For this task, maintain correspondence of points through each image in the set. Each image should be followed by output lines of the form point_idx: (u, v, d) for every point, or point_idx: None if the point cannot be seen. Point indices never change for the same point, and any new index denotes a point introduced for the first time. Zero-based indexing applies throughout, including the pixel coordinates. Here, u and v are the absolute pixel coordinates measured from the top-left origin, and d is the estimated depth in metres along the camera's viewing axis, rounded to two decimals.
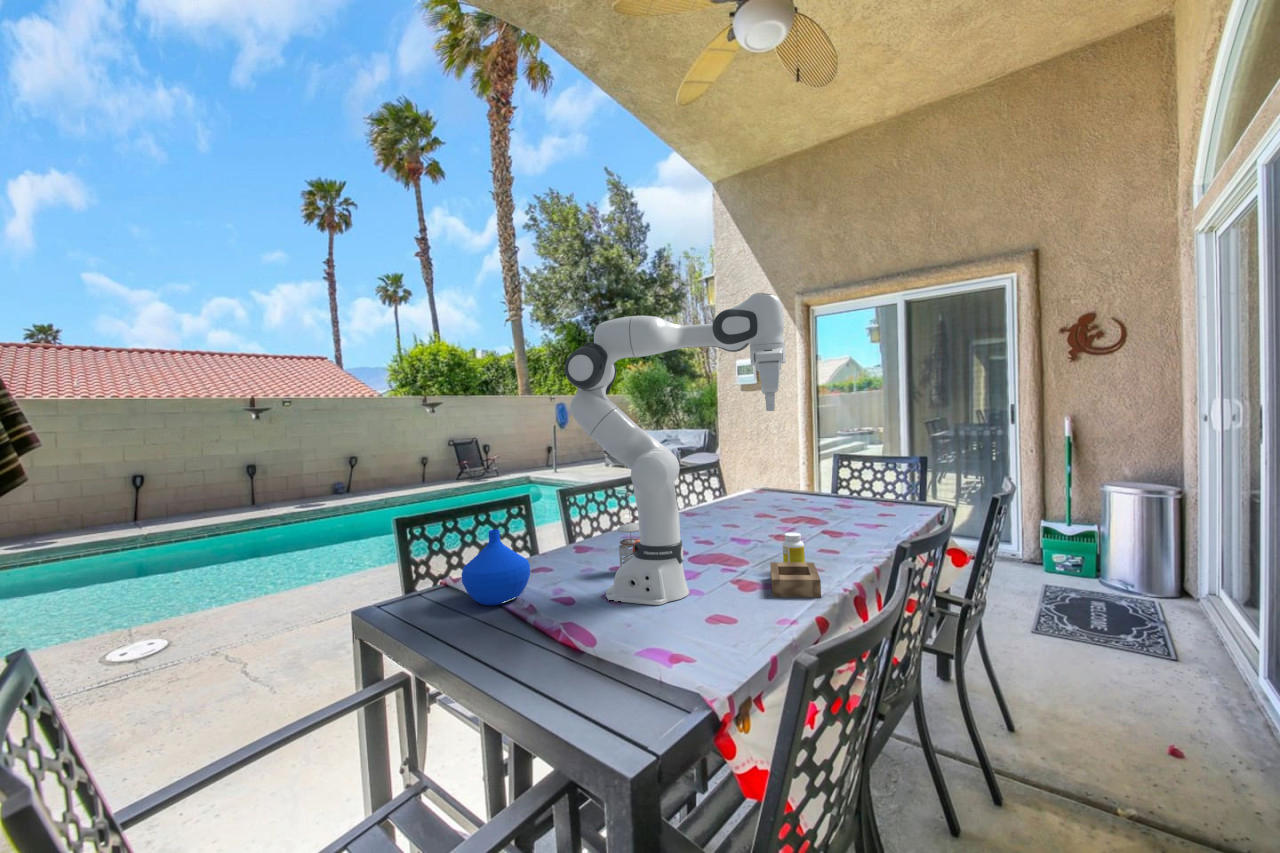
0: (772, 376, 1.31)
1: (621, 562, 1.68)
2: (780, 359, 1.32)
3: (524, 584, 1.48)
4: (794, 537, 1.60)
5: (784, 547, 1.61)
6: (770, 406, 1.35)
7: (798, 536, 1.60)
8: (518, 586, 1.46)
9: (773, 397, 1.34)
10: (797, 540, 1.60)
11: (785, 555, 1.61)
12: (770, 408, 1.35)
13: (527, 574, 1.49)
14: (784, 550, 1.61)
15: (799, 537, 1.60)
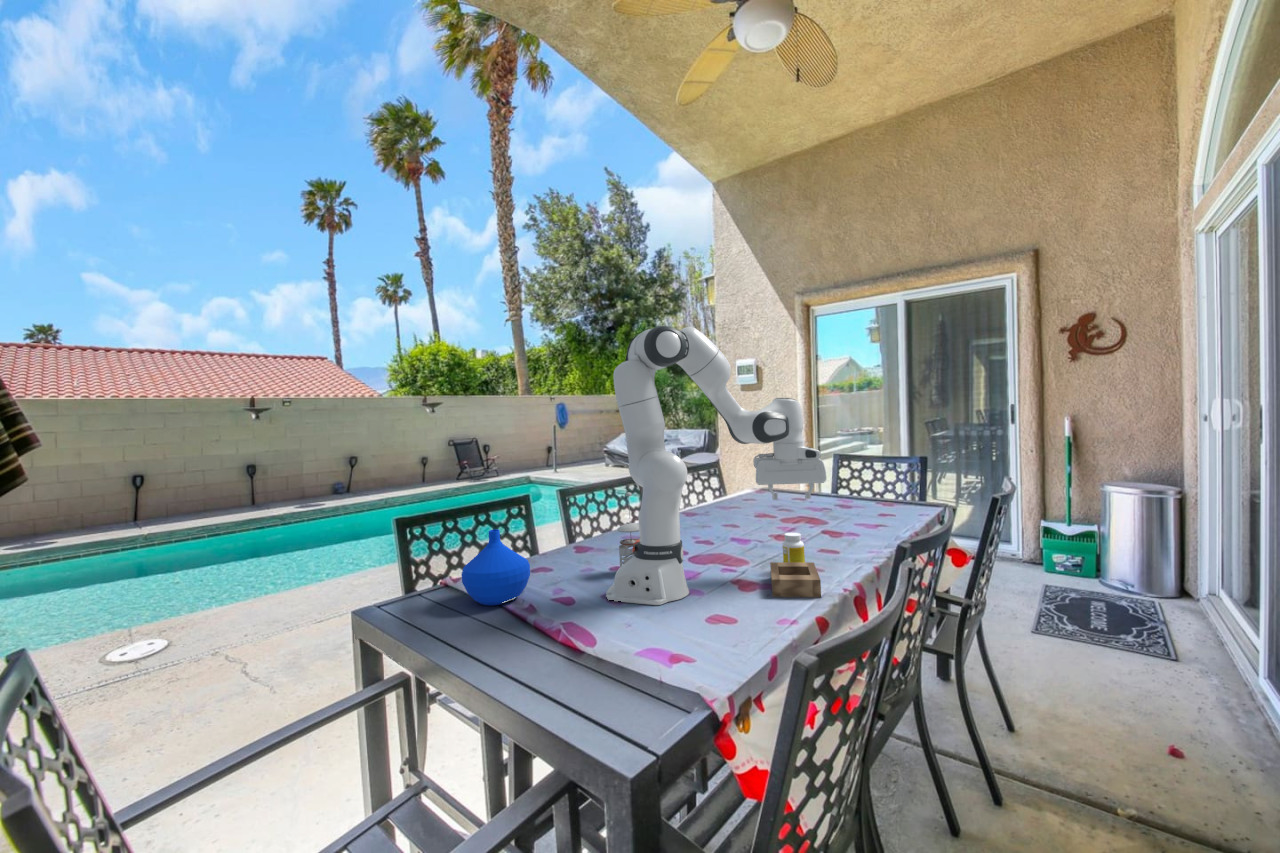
0: None
1: (621, 562, 1.68)
2: None
3: (524, 584, 1.48)
4: (794, 537, 1.60)
5: (784, 547, 1.61)
6: None
7: (798, 536, 1.60)
8: (518, 586, 1.46)
9: None
10: (797, 540, 1.60)
11: (785, 555, 1.61)
12: None
13: (527, 574, 1.49)
14: (784, 550, 1.61)
15: (799, 537, 1.60)
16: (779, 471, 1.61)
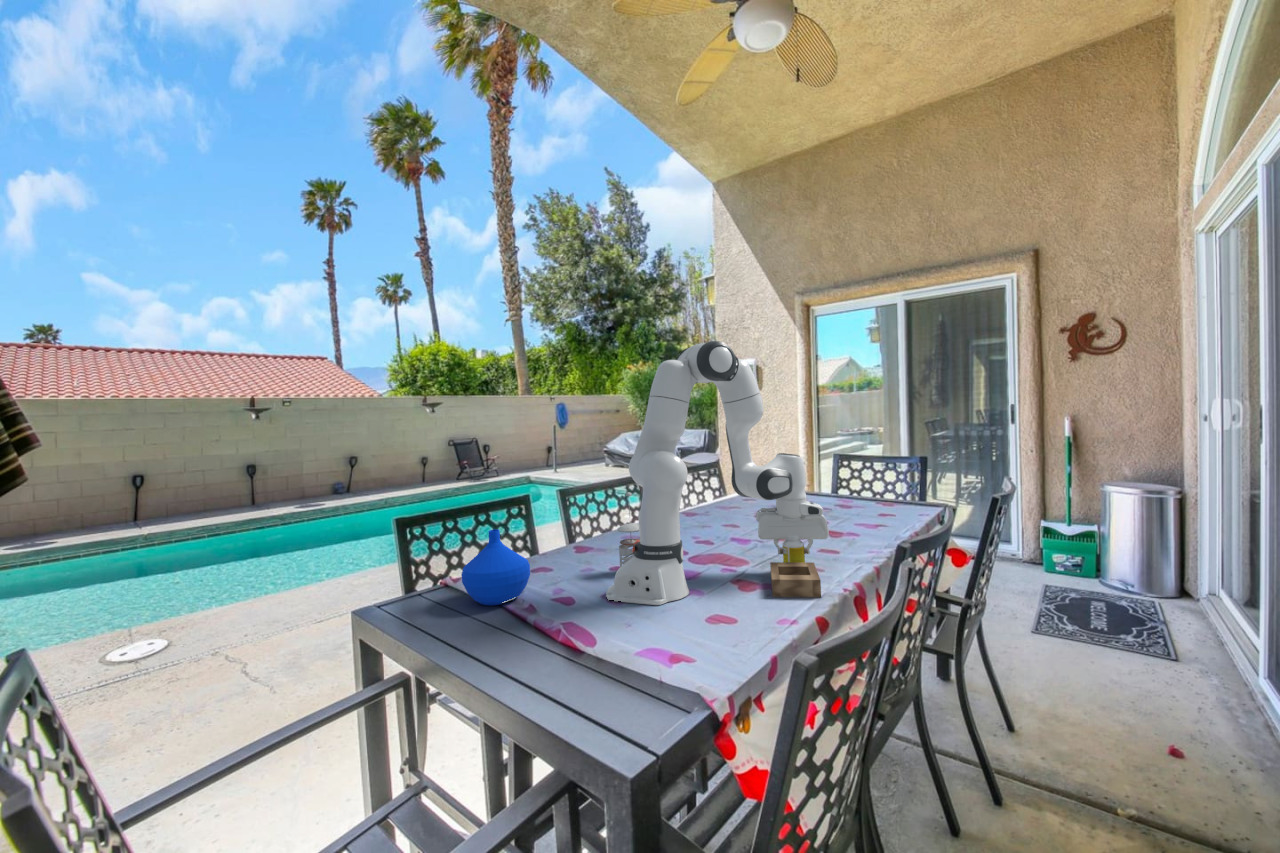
0: None
1: (621, 562, 1.68)
2: None
3: (524, 584, 1.48)
4: (794, 537, 1.60)
5: (784, 547, 1.61)
6: None
7: None
8: (518, 586, 1.46)
9: None
10: (797, 540, 1.60)
11: (785, 555, 1.61)
12: None
13: (527, 574, 1.49)
14: (784, 550, 1.61)
15: None
16: (781, 526, 1.61)
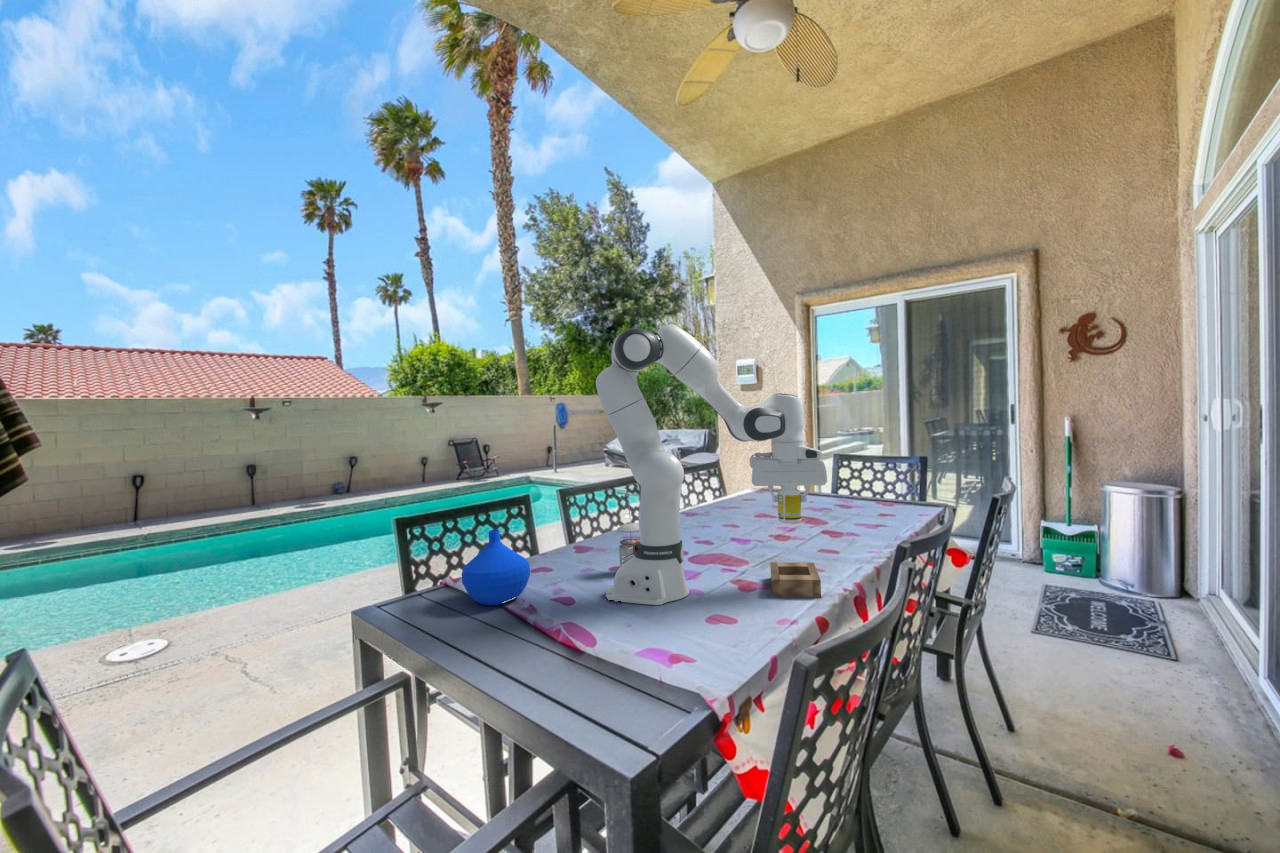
0: None
1: (621, 562, 1.68)
2: None
3: (524, 584, 1.48)
4: (790, 484, 1.49)
5: (779, 495, 1.50)
6: None
7: None
8: (518, 586, 1.46)
9: None
10: (793, 487, 1.49)
11: (780, 503, 1.50)
12: None
13: (527, 574, 1.49)
14: (779, 498, 1.51)
15: None
16: (777, 472, 1.50)
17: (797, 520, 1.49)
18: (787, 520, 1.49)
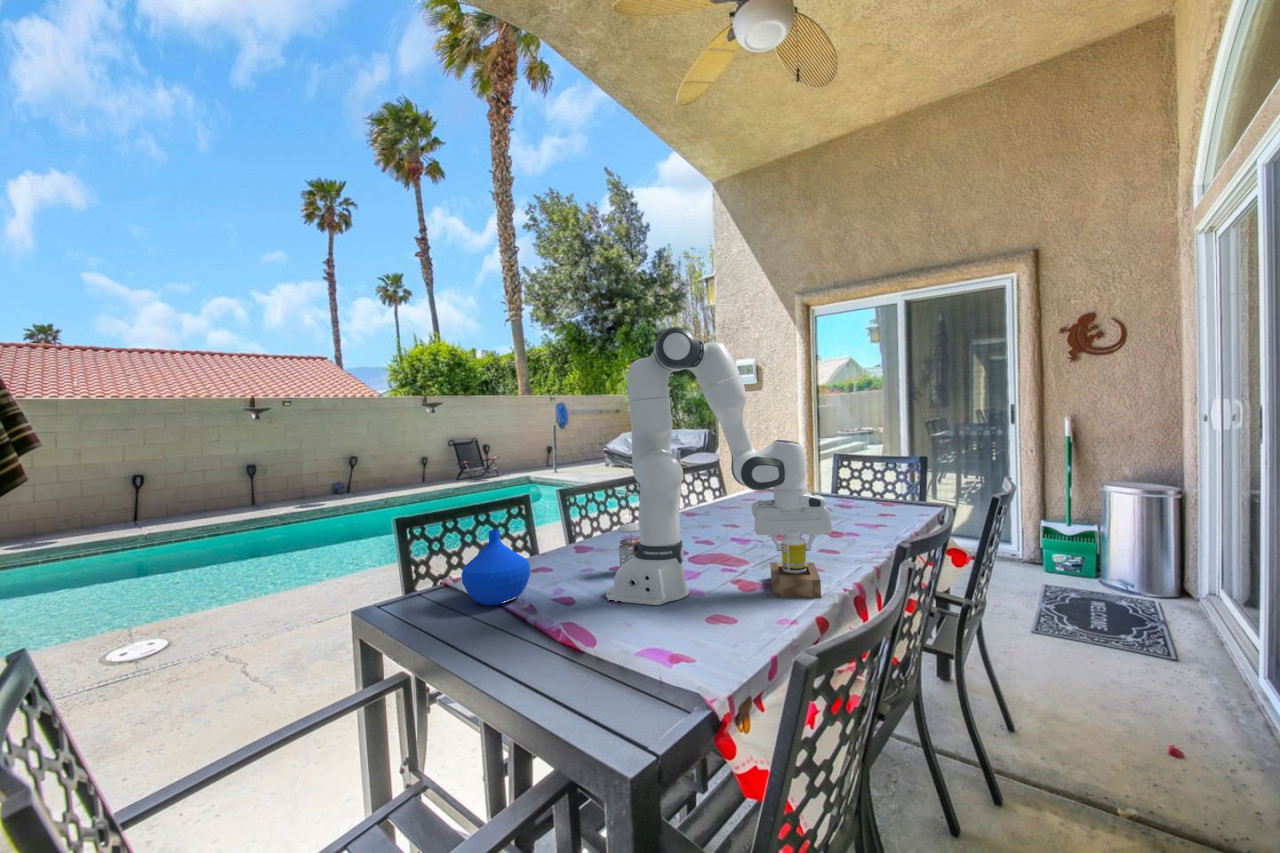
0: None
1: (621, 562, 1.68)
2: None
3: (524, 584, 1.48)
4: (794, 533, 1.45)
5: (783, 544, 1.47)
6: (810, 546, 1.46)
7: None
8: (518, 586, 1.46)
9: None
10: (797, 537, 1.45)
11: (784, 553, 1.46)
12: (810, 548, 1.46)
13: (527, 574, 1.49)
14: (783, 547, 1.47)
15: None
16: (780, 520, 1.46)
17: (802, 570, 1.45)
18: (791, 571, 1.45)
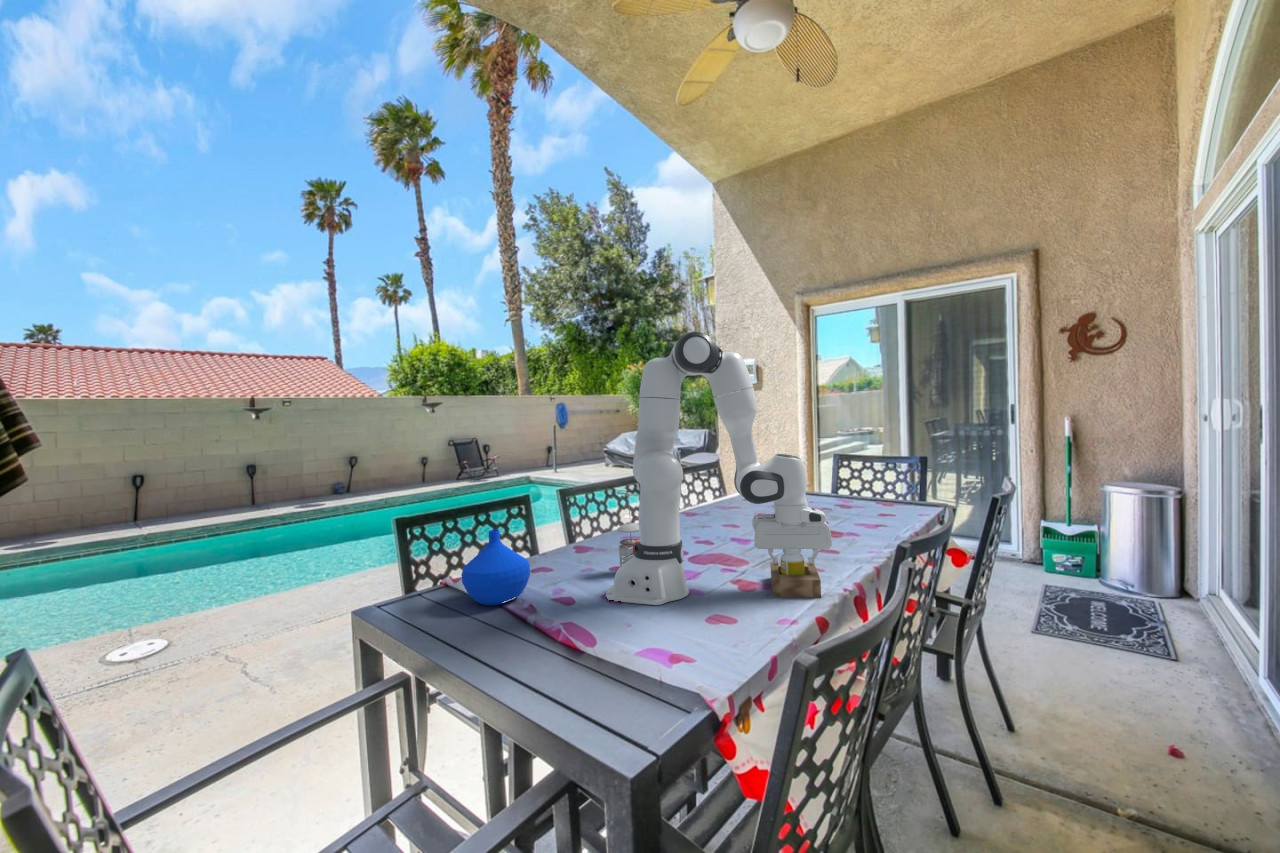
0: None
1: (621, 562, 1.68)
2: None
3: (524, 584, 1.48)
4: (793, 550, 1.45)
5: (782, 561, 1.47)
6: None
7: (797, 549, 1.46)
8: (518, 586, 1.46)
9: None
10: (796, 553, 1.46)
11: (783, 570, 1.46)
12: None
13: (527, 574, 1.49)
14: (782, 564, 1.47)
15: (799, 550, 1.46)
16: (780, 535, 1.46)
17: None
18: None
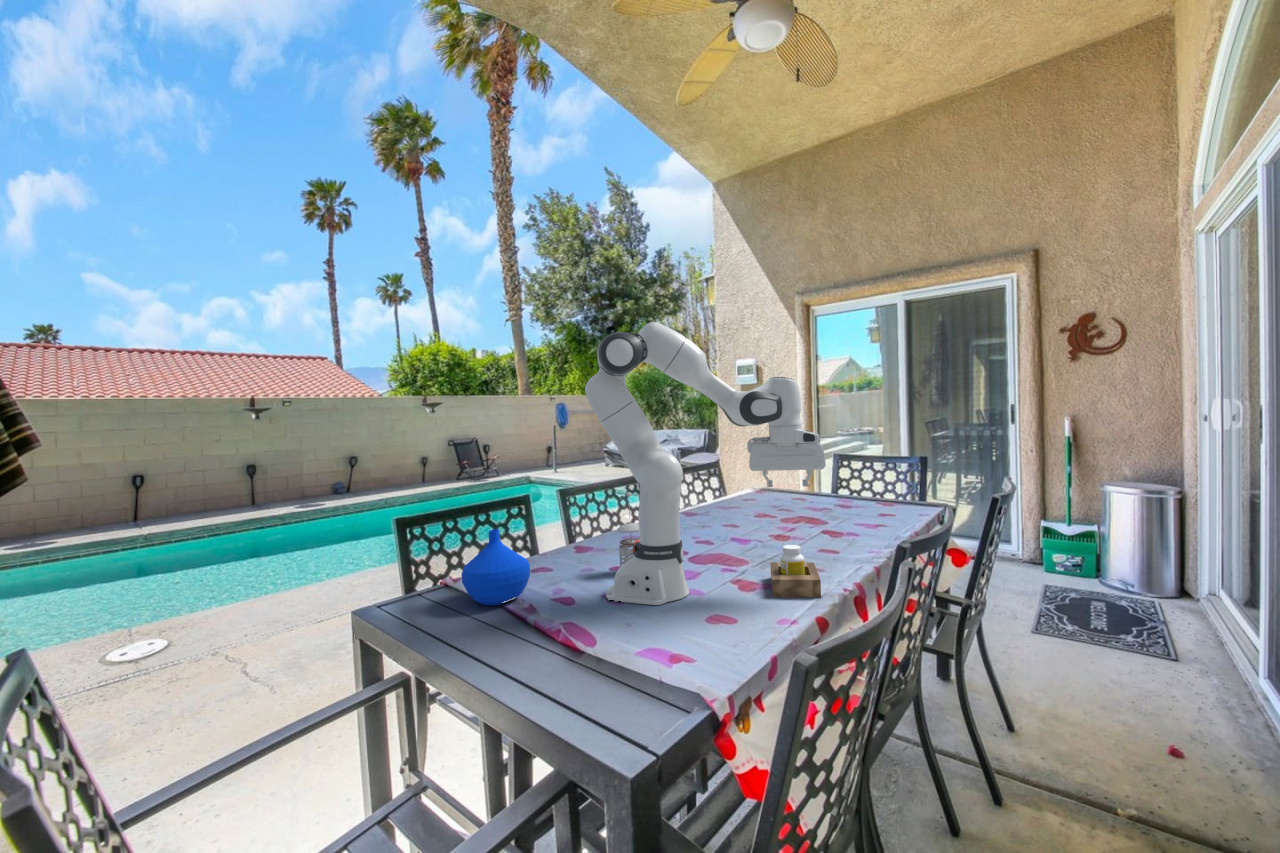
0: None
1: (621, 562, 1.68)
2: None
3: (524, 584, 1.48)
4: (793, 550, 1.45)
5: (782, 561, 1.47)
6: None
7: (797, 549, 1.46)
8: (518, 586, 1.46)
9: None
10: (796, 553, 1.46)
11: (783, 570, 1.46)
12: None
13: (527, 574, 1.49)
14: (782, 564, 1.47)
15: (799, 550, 1.46)
16: (774, 456, 1.49)
17: None
18: None
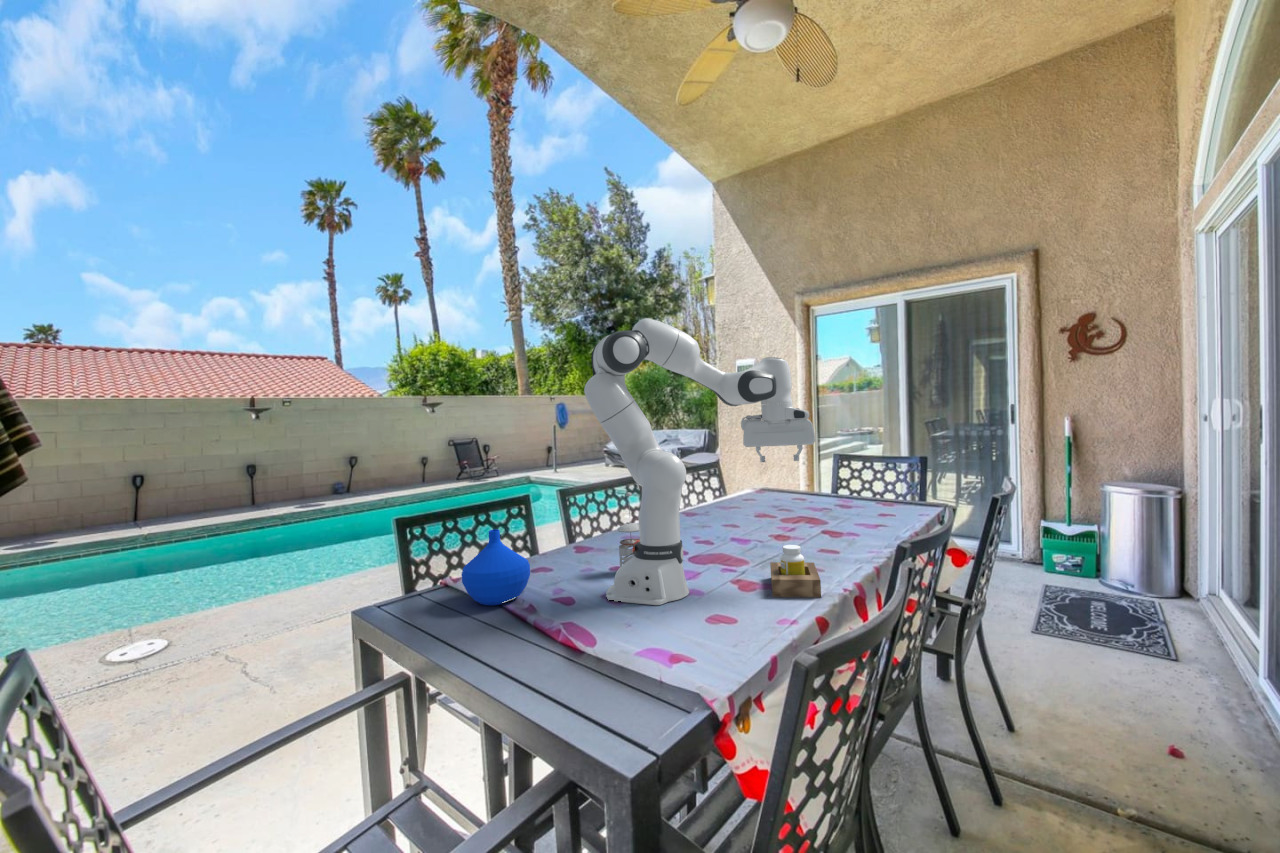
0: None
1: (621, 562, 1.68)
2: None
3: (524, 584, 1.48)
4: (793, 550, 1.45)
5: (782, 561, 1.47)
6: (798, 456, 1.57)
7: (797, 549, 1.46)
8: (518, 586, 1.46)
9: None
10: (796, 553, 1.46)
11: (783, 570, 1.46)
12: (798, 458, 1.57)
13: (527, 574, 1.49)
14: (782, 564, 1.47)
15: (799, 550, 1.46)
16: (767, 433, 1.57)
17: None
18: None
